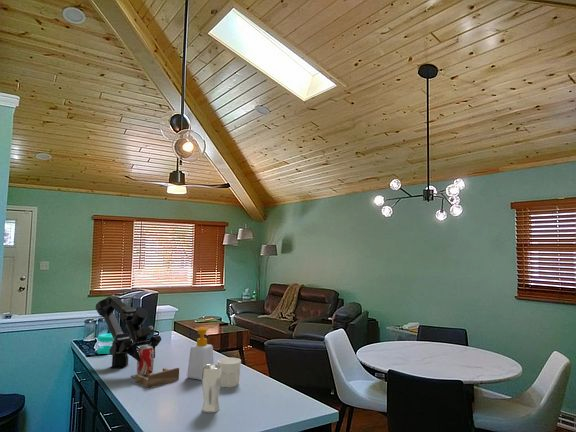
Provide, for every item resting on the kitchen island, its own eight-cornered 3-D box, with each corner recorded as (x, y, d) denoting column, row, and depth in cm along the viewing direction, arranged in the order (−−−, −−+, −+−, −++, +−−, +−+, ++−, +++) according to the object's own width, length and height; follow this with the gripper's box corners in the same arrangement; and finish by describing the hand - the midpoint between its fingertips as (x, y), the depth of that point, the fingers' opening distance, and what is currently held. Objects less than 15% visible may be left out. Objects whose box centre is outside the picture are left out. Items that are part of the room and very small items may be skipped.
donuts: (103, 337, 216) (93, 335, 221) (102, 356, 215) (92, 353, 221) (120, 334, 224) (110, 332, 230) (119, 352, 223) (109, 350, 229)
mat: (130, 376, 180) (130, 375, 180) (148, 372, 187) (148, 371, 187) (141, 380, 175) (141, 379, 175) (159, 375, 181) (159, 375, 181)
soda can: (147, 376, 177) (148, 349, 178) (133, 375, 178) (134, 348, 179) (156, 372, 184) (157, 345, 185) (142, 370, 185) (143, 344, 186)
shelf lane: (135, 382, 172) (136, 370, 173) (164, 374, 183) (165, 363, 184) (149, 387, 165) (150, 375, 166) (178, 379, 176) (179, 368, 177)
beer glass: (202, 406, 146) (203, 364, 148) (221, 405, 147) (222, 364, 148) (199, 413, 139) (201, 369, 141) (219, 413, 140) (220, 369, 141)
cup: (244, 382, 174) (244, 358, 175) (234, 389, 165) (234, 364, 166) (224, 379, 177) (224, 356, 178) (212, 386, 168) (213, 362, 169)
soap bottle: (221, 373, 187) (222, 324, 189) (203, 381, 174) (204, 329, 177) (204, 370, 191) (205, 323, 193) (185, 378, 179) (187, 327, 181)
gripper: (123, 323, 178) (135, 352, 170) (160, 318, 193) (172, 345, 185) (114, 338, 183) (124, 367, 175) (150, 332, 197) (162, 359, 189)
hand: (147, 359), depth 181 cm, fingers closed on soda can, 7 cm apart
